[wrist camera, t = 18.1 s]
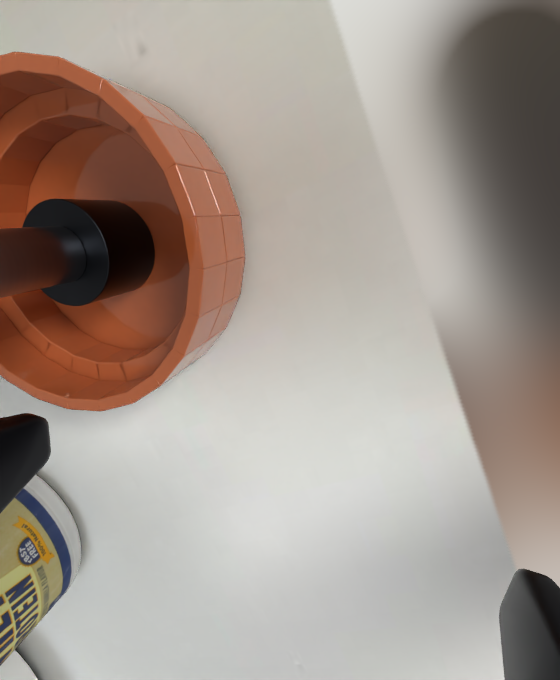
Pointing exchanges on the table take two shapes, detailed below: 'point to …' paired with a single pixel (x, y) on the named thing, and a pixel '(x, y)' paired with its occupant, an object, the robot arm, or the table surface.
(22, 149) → the terracotta bowl
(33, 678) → the bowl
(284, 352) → the table surface
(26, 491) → the supplement tub
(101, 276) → the dumbbell
